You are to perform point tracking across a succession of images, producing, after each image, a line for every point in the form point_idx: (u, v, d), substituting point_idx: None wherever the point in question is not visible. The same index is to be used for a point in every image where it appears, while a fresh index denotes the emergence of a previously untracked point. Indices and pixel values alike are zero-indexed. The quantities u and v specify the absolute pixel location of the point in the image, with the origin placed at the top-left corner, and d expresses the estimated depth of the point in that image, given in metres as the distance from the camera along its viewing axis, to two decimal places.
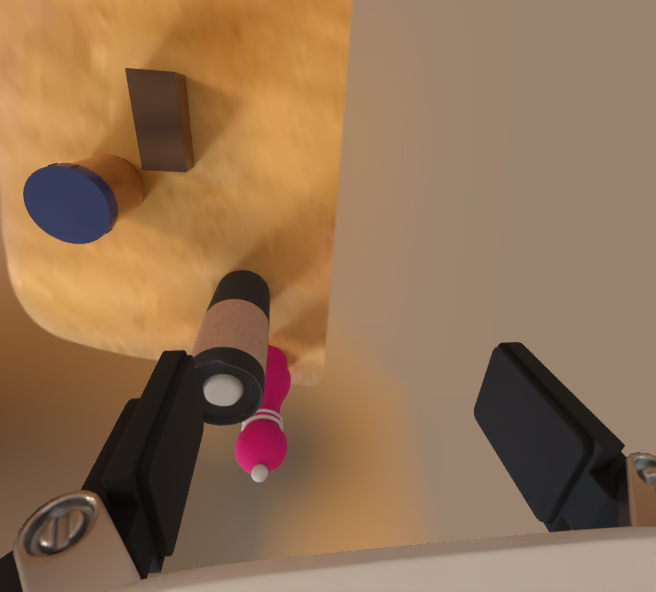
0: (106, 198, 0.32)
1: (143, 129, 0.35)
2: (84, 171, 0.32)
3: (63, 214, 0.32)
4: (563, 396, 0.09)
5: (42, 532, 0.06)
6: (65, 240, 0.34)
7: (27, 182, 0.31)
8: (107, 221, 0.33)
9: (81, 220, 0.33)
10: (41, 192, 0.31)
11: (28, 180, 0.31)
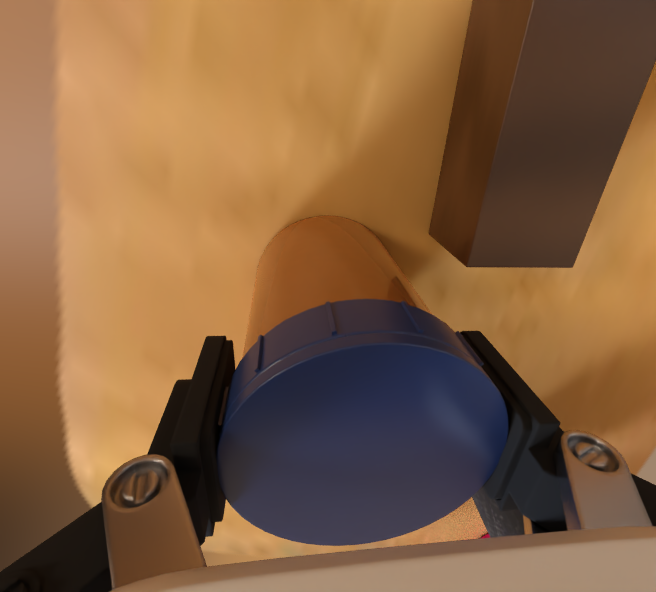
0: None
1: (515, 158, 0.12)
2: (451, 340, 0.08)
3: (342, 484, 0.09)
4: (511, 379, 0.09)
5: (123, 489, 0.06)
6: (318, 542, 0.10)
7: (246, 405, 0.07)
8: (475, 486, 0.09)
9: (394, 493, 0.09)
10: (289, 431, 0.08)
11: (252, 398, 0.07)
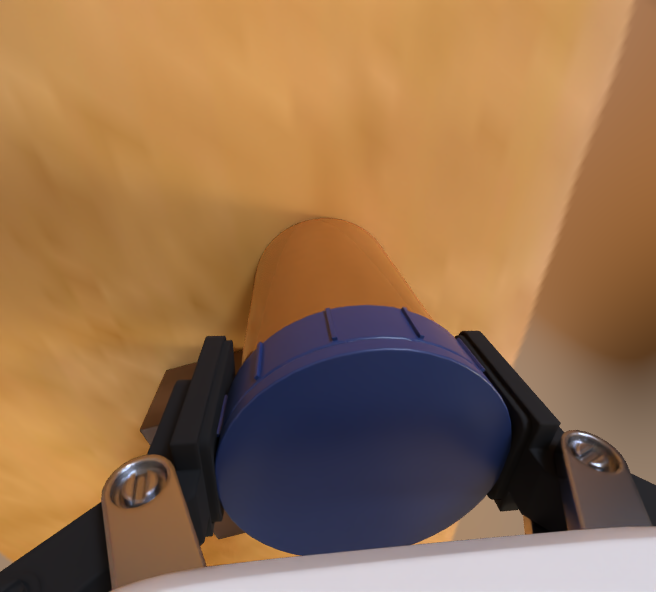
0: None
1: None
2: (452, 345, 0.08)
3: (343, 494, 0.09)
4: (511, 379, 0.09)
5: (123, 489, 0.06)
6: None
7: (245, 413, 0.07)
8: (478, 496, 0.09)
9: (396, 503, 0.09)
10: (289, 440, 0.08)
11: (252, 406, 0.07)
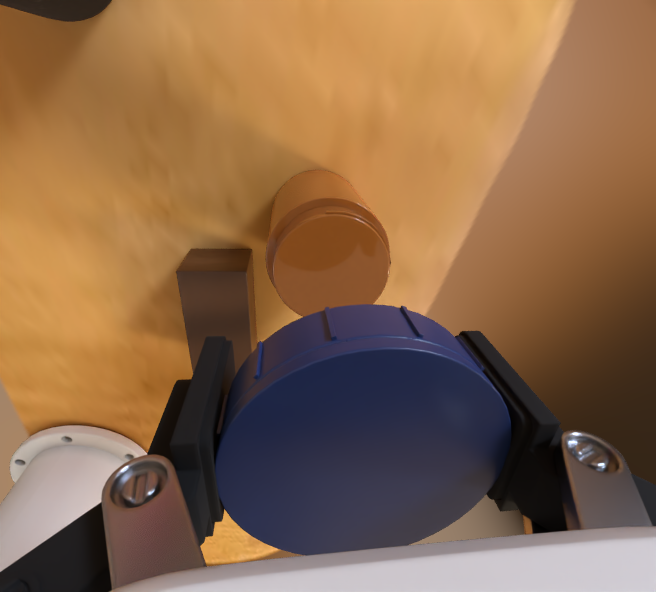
0: None
1: (238, 322, 0.25)
2: (451, 344, 0.08)
3: (343, 493, 0.09)
4: (511, 379, 0.09)
5: (123, 489, 0.06)
6: None
7: (245, 412, 0.07)
8: (478, 494, 0.09)
9: (396, 502, 0.09)
10: (289, 439, 0.08)
11: (251, 406, 0.07)
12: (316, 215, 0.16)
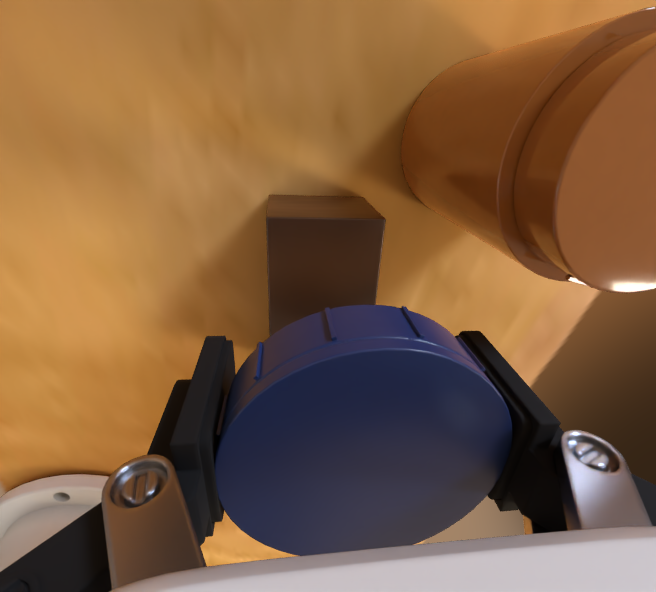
0: None
1: None
2: (452, 345, 0.08)
3: (343, 494, 0.09)
4: (511, 379, 0.09)
5: (123, 489, 0.06)
6: None
7: (245, 413, 0.07)
8: (479, 495, 0.09)
9: (397, 503, 0.09)
10: (289, 440, 0.08)
11: (251, 406, 0.07)
12: None
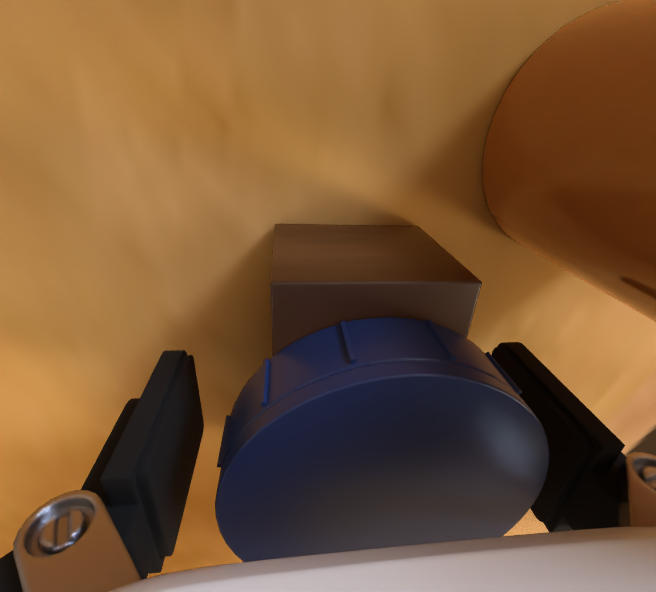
0: None
1: None
2: (485, 365, 0.07)
3: (359, 526, 0.08)
4: (563, 396, 0.09)
5: (42, 532, 0.06)
6: None
7: (251, 446, 0.06)
8: (507, 525, 0.08)
9: (417, 534, 0.08)
10: (301, 473, 0.07)
11: (258, 439, 0.06)
12: None
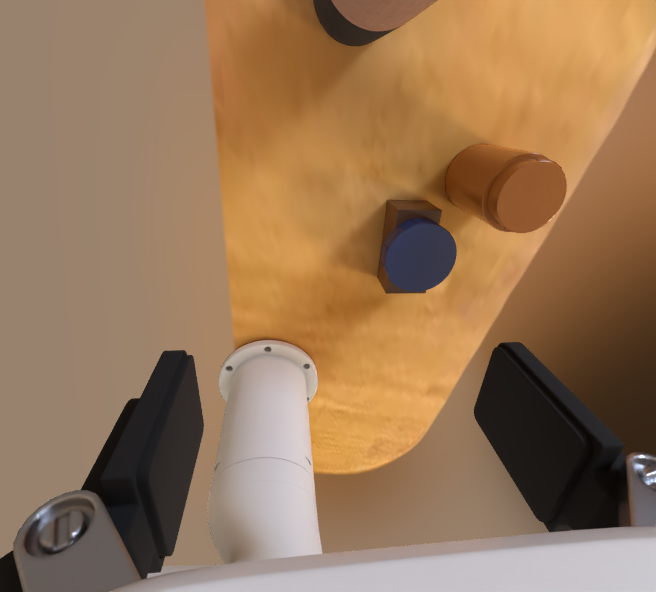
0: (456, 250, 0.34)
1: None
2: (441, 226, 0.34)
3: (414, 266, 0.35)
4: (563, 396, 0.09)
5: (42, 532, 0.06)
6: (405, 289, 0.36)
7: (396, 238, 0.33)
8: (448, 270, 0.35)
9: (427, 270, 0.35)
10: (404, 247, 0.34)
11: (398, 237, 0.33)
12: (531, 161, 0.28)
